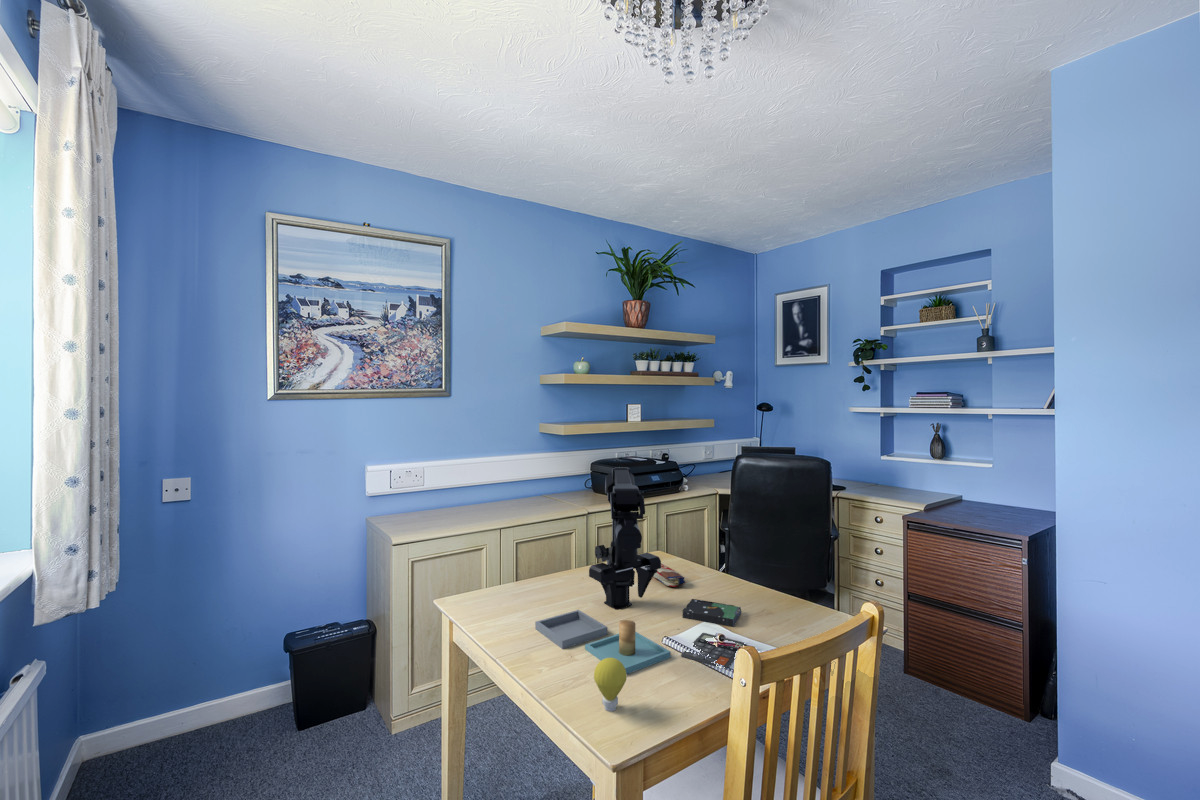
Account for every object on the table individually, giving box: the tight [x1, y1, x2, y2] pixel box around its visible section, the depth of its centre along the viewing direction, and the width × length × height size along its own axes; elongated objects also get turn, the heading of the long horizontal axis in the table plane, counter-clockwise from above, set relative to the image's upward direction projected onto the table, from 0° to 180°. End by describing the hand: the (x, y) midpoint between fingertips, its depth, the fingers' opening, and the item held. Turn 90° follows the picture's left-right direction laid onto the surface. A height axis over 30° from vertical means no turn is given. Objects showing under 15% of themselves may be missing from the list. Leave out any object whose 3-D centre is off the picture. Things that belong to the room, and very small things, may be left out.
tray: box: [584, 630, 672, 675], centre depth 134 cm, size 15×15×2 cm
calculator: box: [680, 632, 747, 669], centre depth 136 cm, size 12×1×15 cm
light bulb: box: [593, 658, 627, 712], centre depth 111 cm, size 7×7×10 cm
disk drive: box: [682, 598, 742, 628], centre depth 157 cm, size 10×3×15 cm
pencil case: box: [652, 563, 686, 588], centre depth 187 cm, size 11×20×5 cm, turn 11°
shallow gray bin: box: [535, 609, 608, 650], centre depth 146 cm, size 14×14×2 cm
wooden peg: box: [618, 619, 636, 656], centre depth 134 cm, size 4×4×7 cm
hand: (625, 601), depth 134 cm, fingers open, 9 cm apart
